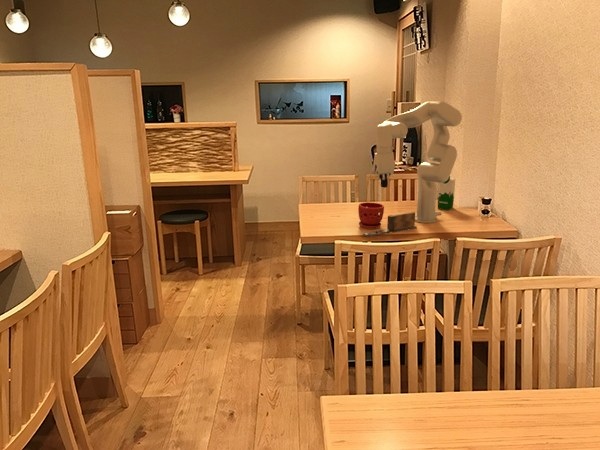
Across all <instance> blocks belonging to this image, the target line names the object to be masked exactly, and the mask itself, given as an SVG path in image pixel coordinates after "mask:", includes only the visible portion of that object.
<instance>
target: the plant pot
mask: <svg viewBox="0 0 600 450" xmlns="http://www.w3.org/2000/svg"><path fill="white" fill-rule="evenodd" d="M384 213H385V206H384V205H383V204H382V203H377V202H370V201H369V202H362V203H359V204H358V219H359V222H358V225H359V226H360V228H362V229H367V230H375V228H376V229H378V228H379V229H380V227H381V226H382V223H381V222H382V220H383V216H384Z"/></svg>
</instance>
